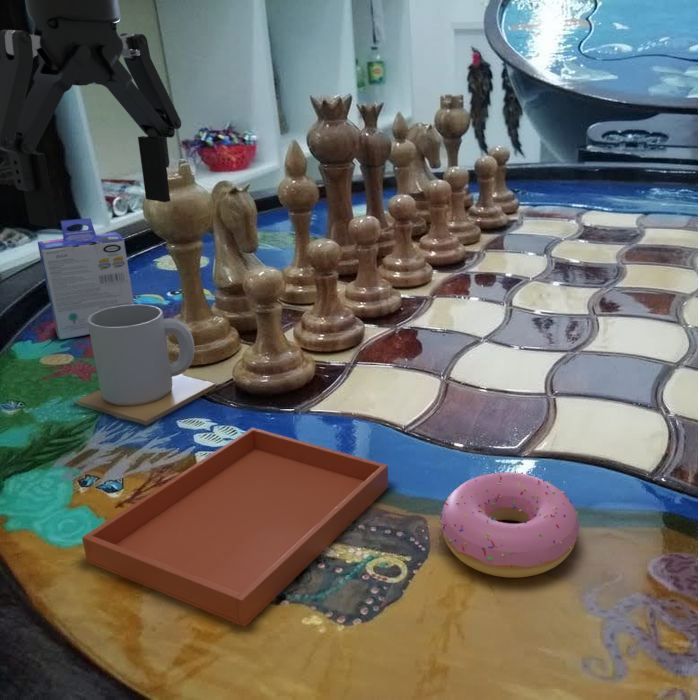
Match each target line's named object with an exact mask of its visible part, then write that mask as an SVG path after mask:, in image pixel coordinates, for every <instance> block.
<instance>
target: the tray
mask: <svg viewBox="0 0 698 700" xmlns="http://www.w3.org/2000/svg"><path fill="white" fill-rule="evenodd" d="M388 488H389V465H388V464H386V463H382V462H377V461H374V460H371V459H367V458H363V457H359V456H356V455H353V454H350V453H346V452H342V451H338V450H335V449H331V448H328V447H325V446H320V445H317V444H313V443H310V442H307V441H303V440H299V439H295V438H292V437H288V436H284V435H283V434H282V435H280V434H278V433H275V432H270V431H266V430H265V429H260V428H256V427H250V428H249V429H248V430H246V431H245V432H243V433H241V434H240V435H238V436H237V437H235V438H233V439H232V440H231V441H229V442H228V443H226V444H224V445H223V446H221V447H219V448H218V449H216V450H215V451H213V452H212V453H210V454H208V455H207V456H205V457H204V458H203V459H201V460H199V461H198V462H196V463H195V464H193V465H191V466H190V467H189V468H187V469H186V470H184V471H182V472H181V473H179V474H178V475H176V476H174V477H173V478H171V479H170V480H168V481H167V482H166V483H164V484H162V485H160V486H159V487H158V488H156V489H155V490H153V491H151V492H150V493H148V494H147V495H145V496H144V497H141V499H139V500H137V501H136V502H134V503H132V504H131V505H130V506H128V507H127V508H125V509H123V510H122V511H119V513H118V514H116V515H114V516H113V517H111V518H110V519H108V520H106V521H105V522H103V523H102V524H100V525H99V526H97V527H96V528H94V529H92V530H91V531H90V532H88V533H86V534H85V535H83V536H82V537H81V539H82V544H83V549H84V554H85V558H86V563H87V564H90V565H93V566H96V567H97V568H100V569H103V570H104V571H107V572H110V573H113V574H115V575H117V576H120V577H122V578H125V579H127V580H129V581H132V582H134V583H137V584H138V585H141V586H144V587H146V588H149V589H151V590H154V591H156V592H159V593H161V594H163V595H165V596H168V597H170V598H173V599H175V600H178V601H181V602H183V603H186V604H188V605H190V606H193V607H195V608H197V609H199V610H203V611H205V612H207V613H209V614H212V615H214V616H216V617H219V618H222V619H224V620H227V621H229V622H231V623H234V624H237V625H239V626H242V627H244V628H246V627H247V626H249V624H250V623H251V622H253V620H254V619H255V618H257V616H258V615H259V614H260V613H262V611H264V610H265V609H266V608H267V607H268V605H269V604H271V603H272V602H273V600H275V599H276V597H278V596H279V595H280V594H281V593H282V592H283V591H284V590H285V589H286V588H287V587H288V586H289V585H290V584H291V583H292V582H293V581H294V580H296V578H297V577H298V576H299V575H301V573H302V572H304V570H306V568H307V567H309V565H310V564H312V562H313V561H315V560H316V558H318V557H319V556H320V555H321V554H322V553H323V552H324V551H325V550H326V549H327V548H328V547H329V546H331V544H332V543H333V542H334V541H335V540H336V539H337V538H338V537H339V536H340V535H341V534H342V533H343V532H344V531H345V530H346V529H347V528H348V527H349V526H351V524H352V523H353V522H354V521H356V520H357V518H358V517H360V515H362V514H363V513H364V511H366V510H367V508H369V507H370V506H371V505H372V504H373V503H374V502H375V501H376V500H377V499H378V498H379V497H380V496H381V495H382V494H383V493H384V492H385V491H386V490H387V489H388Z"/></svg>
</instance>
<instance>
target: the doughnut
mask: <svg viewBox="0 0 698 700" xmlns="http://www.w3.org/2000/svg"><path fill="white" fill-rule="evenodd" d="M552 483H553V482H552V481H550V480H548V481H546V480H545V479H542V478H540V477H536V476H533V475H531V474H530V473H529V474H525V473H524V472H523V471H522V472H517V470H514V472H507V471H505V472H500V471H497V472H495V471H493V472H491V473H486V474H480V475H477V476H476V477H473V478H471V479H468V480H467V481H464V482H463V483H461V484H458V485H456V486H457V487H456V488H455V489H454V490H453V492H449V495H448V497H447V496H446V497H445V501H443V502H442V504H443V506H442V509H441V515H440V517H439V521H438V523H439V524H440V528H441V531H442V534H443V538H444V541H445V543H446V545H447V546H448V548H449V550H450V552H451V553H452V554H454V556H455V557H456V558H457V559H458V560H460V561H461V562H462V563H464V564H465V565H466V566H468V567H470V568H472V569H473V570H476V571H478V572H481V573H483V574H486V575H491V576H495V577H502V578H525V577H532V576H537V575H540V574H543V573H546V572H548V571H550V570H552V569H555V567H557V566H559V565H560V564H561V563H562V562H564V561H565V560H566V558H568V557H569V555H570V554H571V552H572V550H573V549H574V546H575V544H576V541H577V540H578V539H579V533H580V522H579V517H578V514H579V511H578V510H577V511H576V509H575V506H574V505H573V503H572V502H571V500H570V499H569V498H568V496H567V495H566V492H565V490H561V489H560V488H558V487H557V486H556V485H554V484H552ZM503 521H515V522H518V523H508V522H503Z"/></svg>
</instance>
